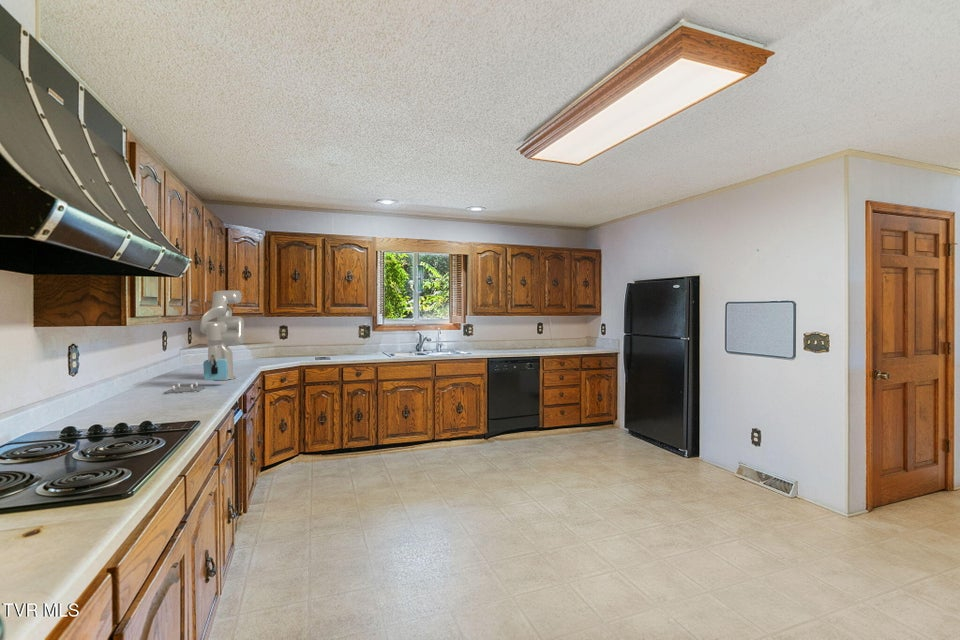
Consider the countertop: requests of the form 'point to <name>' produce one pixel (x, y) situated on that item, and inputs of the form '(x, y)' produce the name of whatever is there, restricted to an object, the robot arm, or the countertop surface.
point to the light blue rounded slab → (221, 370)
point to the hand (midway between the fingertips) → (216, 372)
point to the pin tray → (185, 388)
